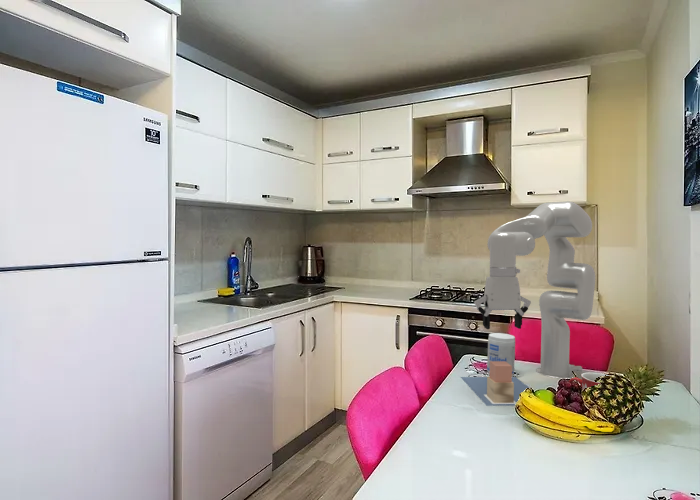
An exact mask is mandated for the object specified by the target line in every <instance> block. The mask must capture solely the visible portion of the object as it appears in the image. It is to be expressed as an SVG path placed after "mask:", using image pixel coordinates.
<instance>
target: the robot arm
mask: <svg viewBox="0 0 700 500" xmlns="http://www.w3.org/2000/svg"><path fill="white" fill-rule="evenodd" d="M592 230H593V221H592V219H591V216H589V214H588V212H586V211H585V210H584V209H583V207H581V206H580V205H579V204H577V203H576V202H574V201H569V200H567V201H550V202H549V201H548V202H545V203H541V204H540V205H538V206H537V207H535V208H534V209H533V210H532V211H531V212H530V213H528V214H527V215H525V216H524V217H520V218H517V219H516V220H515V219H514V220H512V221H508V222H507V223H504V224H501V225H500V226H498V227H497V228H496V229H495V230H493V231H492V232H491V234H489V236H488V239H487V248H488V250H489V276H486V280H485V286H484V295H483V296H481V297H479V298H478V299H476V300H474V302H473V304H474V306H475V308H476V309H477V311H479V313H480V314H481V315H482V326H483V327H484V329H486V330H490V329H491V316H490V313H491V312H492V311H514V312H515V314H514V327H515V328H517V329H518V330H520V329H522V326H523V316H524V315H525V313H526V312H527V311H528V310H529V307H530V305H531V304H532V302H531V300H529V299H527V298H526V297H523V296H521V288H520V282H519V278H518V277H517V274H520V273H521V269H520V268H517V265H516V264H517V256H519V257H520V256H522V257H523V256H525V257H526V256H529V255H530V254H531V253H532V252H534V250H535V247H536V239H540V238H542V237H543V236H544V238H545V240H546V242H547V244H548V248H549V253H548V254H549V255H548V263H547V264H548V265H547V270H546V271H547V274H546V280H547V281H546V282H547V283H548V285H549V286H551V287H554V288H559V289H560V288H563V289H571V290H576V291H577V292H573V291H572V292H571V291H564V290H563V291H562V290H547V291H543V292H542V293H541V295H540V297H539V300H538V303H539V304H538V305H539V310H540V317H541V318H540V319H541V329H540V330H541V338H540V339H541V340H540V341H541V342H540V367H539V368H536V370H535V372H536V373H537V374H539V375H542V376H545V377H549V378H554V379H555V378H556V379H561V378H572V377H573V375H574V374H572V373H573V372H572V371H574V372H583V367H582V366H581V365H575V364H570V340H571V337H570V336H571V331H570V330H571V329H570V327H569V326H570V325H568V323H567V321H566V319H571V320H579V321H585V320H588V319H589V318H590V317H591V315H592V312H593V305H594V298H595V297H594V296H595V288H596V272H595V269H594V268H593V266H592V265H591V264H588V263H582V262H580V263H579V262H575V255H576V251H575V248H574V246H573V245H572V242H570V241H569V239H568V238H585V237H588V236H589V235H590V234H591V232H592ZM521 302H522V303H523V305H522V306H521V304H522V303H521ZM481 304H483V306H484V308H483V307H482V305H481Z"/></svg>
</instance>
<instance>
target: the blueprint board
mask: <svg viewBox="0 0 700 500" xmlns="http://www.w3.org/2000/svg"><path fill="white" fill-rule="evenodd" d="M487 377H488V376H460V378H461V379H462V381H463V382H464V383H466V385H467V386H468V387H469V388H470V389H471V391H473V392H474V394H475V395H476V396H477V398H479V400H481V401H482V403H484V404H485V406H487V407H490V406H491V407H493V406H495V407H497V406H498V407H500V406H501V407H502V406H503V407H504V406H505V407H506V406H511V407H513V406H514V407H516V406H515V404H516V402H517V401H518V399H519V394H520V393H521V392H523V391H524V390H525V389H526V388H530V387H529V386H528V385H526V384H525V383H524V382H522V381H521V380H520V379H519V378H517V377H516V376H512V382H513V383H514V403H494V402H493V401H492V400H491V399H490V398H489V397H488V396H487Z"/></svg>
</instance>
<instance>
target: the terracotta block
mask: <svg viewBox="0 0 700 500" xmlns="http://www.w3.org/2000/svg"><path fill="white" fill-rule="evenodd" d="M488 377H490V378H491V379H492V380H493V381H494V382H512V377H513V375H512V366H511V365H510V364H508V363H507V362H506V361H490V373H489V375H488Z"/></svg>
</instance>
